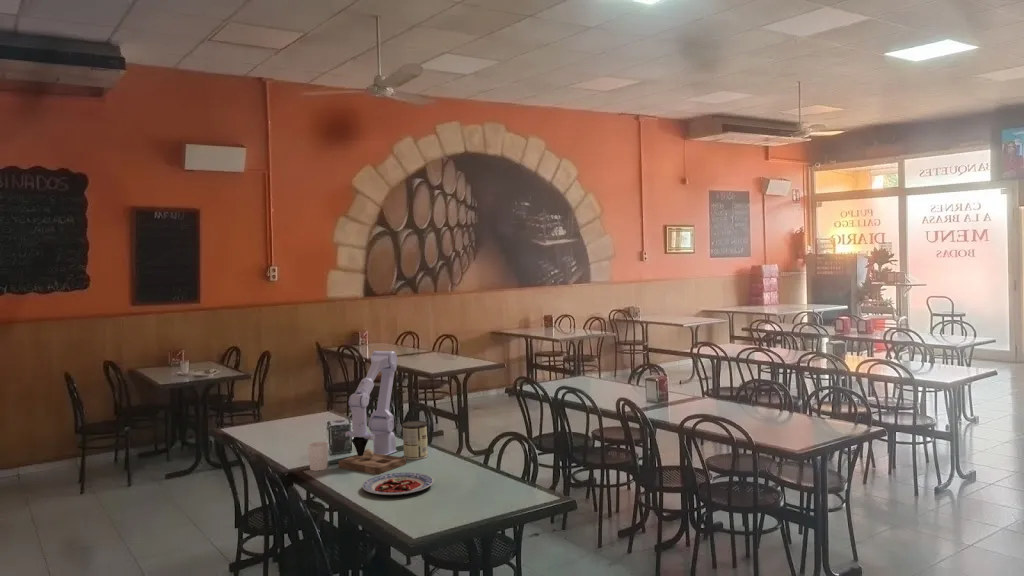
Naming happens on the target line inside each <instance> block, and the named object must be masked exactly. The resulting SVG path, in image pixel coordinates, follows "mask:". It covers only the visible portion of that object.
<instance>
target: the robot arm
mask: <svg viewBox="0 0 1024 576" xmlns="http://www.w3.org/2000/svg"><path fill="white" fill-rule="evenodd" d="M398 360H399V359H398V355H397V353H396V351H395V350H391V351H390V350H389V351H386V350H374V351H373V352H372V354H371V357H370V366H369V368H368V371H367V374H366V376H365V378H362V379H361V381H360V382H359V384H358V386H357V388H356V390H355V391H354V393H352V394H350V396H349V398H348V406H349V408H350V412H351V419H352V420H351V423H352V431H351V430H348V431H345V437H346V438H352V439H351V443H352V444H353V445H354V448H355V451H356V455H358V456H363V453H364V451H365V450H366V447H367V444H368V442H369V440H370V441H372V442H373V443H372V444H373V453H377V454H383V455H391V454H394V453H397V452H398V450H397V444H396V436H395V433H394V432H393V431H394V428H395V419H394V418H395V416H394V415H393V414H392V412H391V411H390V404H391V399H392V390H393V385H394V378H395V372H396V371H397V366H398ZM379 373H381V376H380V377H381V378H380V383H379V384H380V385H379V391H378V399H377V406H376V410H375V411H373V412H372V413H371V414H370V418H369V421H368V422H367V419H368V418H367V407H368V406H369V402H370V394H371V393H372V391H373V389H374V386H375V383H374V382H375V380H376V378H377V376H378V375H379ZM367 423H368V424H367ZM367 425H368V427H367ZM368 429H369V431H370V432H368Z"/></svg>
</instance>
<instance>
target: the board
mask: <svg viewBox="0 0 1024 576" xmlns="http://www.w3.org/2000/svg"><path fill="white" fill-rule="evenodd" d="M406 465H407V459H406V458H404V456H403V457H402V456H396V455H391V454H389V455H383V454H377V453H373V457H372V458H371V459H366V458H365V457H364V455H363V456H358V454H355V455H352V456H349V457H346V458H344V459H340V460H338V468H342V469H348V470H354V471H359V472H364V473H371V474H375V475H376V474H377V475H382V474H385V473H387V472H389V471H392V470H394V469H397V468H400V467H401V466H406ZM381 473H382V474H381Z"/></svg>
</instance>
